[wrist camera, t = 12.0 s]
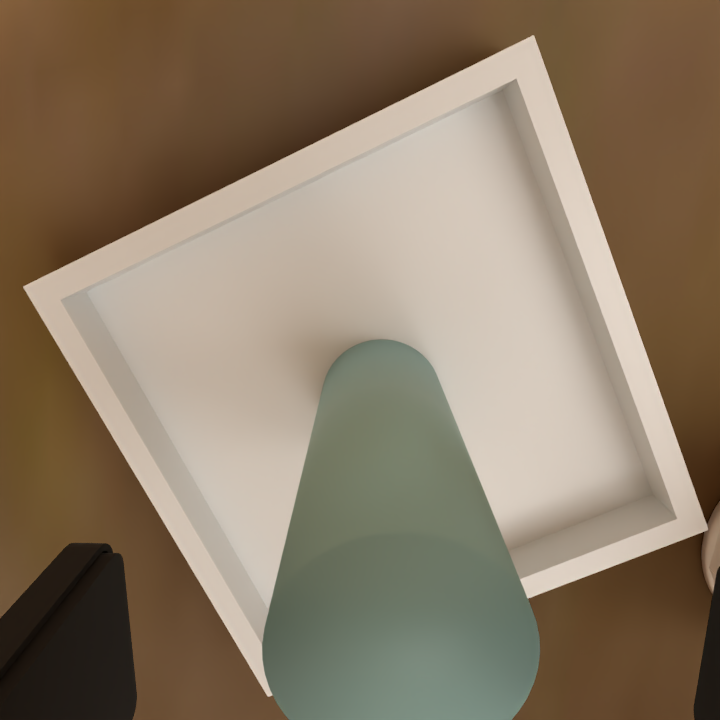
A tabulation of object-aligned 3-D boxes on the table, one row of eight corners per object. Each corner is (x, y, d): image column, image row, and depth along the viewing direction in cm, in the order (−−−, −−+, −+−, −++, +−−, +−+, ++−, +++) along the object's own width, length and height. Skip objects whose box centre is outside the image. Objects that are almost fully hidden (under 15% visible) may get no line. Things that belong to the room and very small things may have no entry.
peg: (412, 319, 20) (477, 487, 8) (459, 425, 21) (578, 714, 9) (302, 369, 20) (212, 595, 8) (352, 469, 21) (334, 799, 9)
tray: (512, 57, 18) (533, 35, 16) (671, 493, 22) (708, 530, 20) (64, 276, 20) (22, 286, 18) (278, 646, 24) (268, 697, 21)
